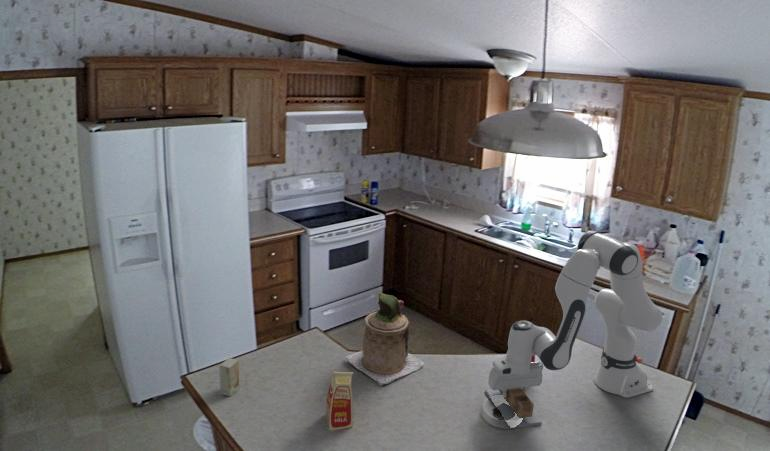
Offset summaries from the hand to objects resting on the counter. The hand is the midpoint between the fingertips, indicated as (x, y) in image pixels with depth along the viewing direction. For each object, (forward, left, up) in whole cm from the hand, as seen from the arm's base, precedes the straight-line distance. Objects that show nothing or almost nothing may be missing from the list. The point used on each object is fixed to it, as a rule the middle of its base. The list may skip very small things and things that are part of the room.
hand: (513, 396), depth 200 cm
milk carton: (+64, -4, -5) cm, 64 cm away
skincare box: (+102, -28, -5) cm, 106 cm away
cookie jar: (+40, -37, -5) cm, 55 cm away
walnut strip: (0, 0, -2) cm, 2 cm away
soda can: (-14, -18, -5) cm, 24 cm away
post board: (0, 0, -5) cm, 5 cm away
